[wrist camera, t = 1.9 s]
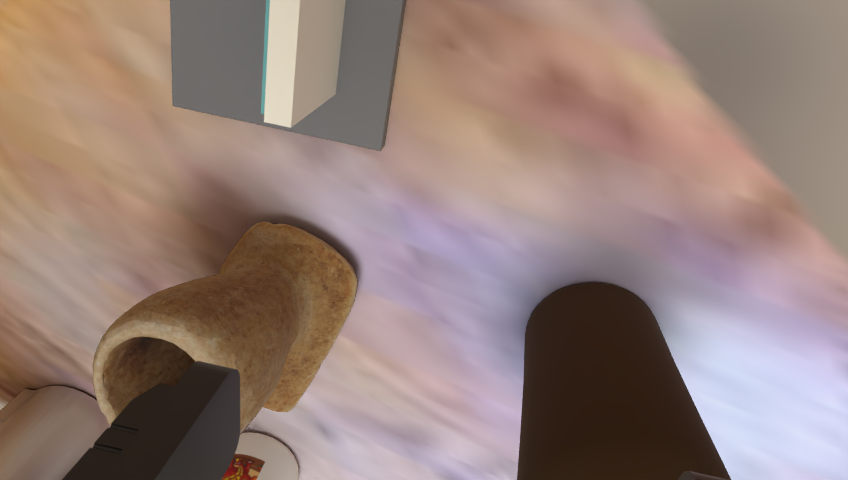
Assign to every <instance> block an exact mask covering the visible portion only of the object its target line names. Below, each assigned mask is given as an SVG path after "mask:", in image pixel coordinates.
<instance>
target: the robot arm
mask: <svg viewBox="0 0 848 480" xmlns="http://www.w3.org/2000/svg"><path fill="white" fill-rule="evenodd" d="M239 437H240V373H239V371H238V370H237V369H233V368H228V367H224V366H219V365H215V364H210V363H206V362H201V361H196V362H194V363H193V364H192V365H191V366H190V367H189V368H188V369H187V371H186V372H185V373H184V374H183V376H182V377H181V378H180V379H179V381H178V382H177V383H176V384H175V386H171V385H167V384H162V383H159V384H157V385H156V386H154V387H152V388H151V389H149V390H147V391H146V392H144V393H142V394H141V395H139V396H138V397H136V398H134V399H133V400H131V401H130V403H129V404H128V405H127V406H126V407H125V408H124V409H123V410H122V412H121V413H120V414H119V415H118V416H117V417H116V418H115V420H114V421H113V422H112V423H111V426H110V425H109V423H108V422H107V418H106V416H105V415H104V414H103V413H102V411H101V409H100V407H99V404H98V401H96V400H95V399H94V398H92V397H90V396H89V395H87V394H85V393H83V392H81V391H78V390H76V389H73V388H69V387H65V386H48V387H44V388H41V389H39V390H29V389H24V390H23V391H22V392H21V393H20V394H18V395H17V396H16V397H15V398H14V399H13V400H12V401H10V402H9V403H8V404H7V405H6V406H5V407H4V408H2V410H0V480H222V478H223V476H224V474H225V473H226V471H227V469H228V467H229V466H230V464H231V462H232V460H233V457H234V455H235V452H236V449H237V446H238V442H239ZM678 480H727V479H723V478H718V477H714V476H709V475H705V474H700V473H696V472H691V471H685V472H683V473H682V474H681V476H680V477H679V479H678Z"/></svg>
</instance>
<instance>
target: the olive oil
mask: <svg viewBox="0 0 848 480" xmlns="http://www.w3.org/2000/svg"><path fill="white" fill-rule="evenodd" d="M685 471H691V472H696V473H700V474H705V475H709V476H714V477H718V478H723V479H727V480H731V478H730V476H729V474H728V472H727V470H726V468H725V466H724V464H723V462H722V460H721V458H720V456H719V454H718V452H717V450H716V448H715V446H714V443H713V441H712V439H711V437H710V435H709V433H708V431H707V429H706V427H705V425H704V423H703V421H702V419H701V417H700V415H699V413H698V411H697V408H696V406H695V404H694V402H693V400H692V398H691V396H690V394H689V392H688V389H687V387H686V385H685V383H684V381H683V379H682V377H681V375H680V372H679V370H678V368H677V366H676V364H675V362H674V360H673V357H672V355H671V353H670V350H669V348H668V346H667V344H666V341H665V339H664V337H663V334H662V332H661V330H660V327H659V325H658V323H657V321H656V319H655V317H654V315H653V313H652V311H651V310H650V309H649V307H648V306H647V305H646V304H645V303H644V302H643V301H642V300H641V299H640V298H639V297H638V296H636V295H635V294H633V293H632V292H630V291H628V290H626V289H624V288H621V287H618V286H615V285H611V284H606V283H594V282H593V283H580V284H575V285H571V286H568V287H565V288H562V289H560V290H558V291H556V292H554V293H553V294H551V295H549V296H548V297H547V298H545V299H544V300H543V301H542V302H541V303H540V304H539V305H538V306H537V307H536V309H535V310H534V311H533V313H532V315H531V317H530V319H529V321H528V324H527V327H526V333H525V354H524V384H523V401H522V417H521V434H520V448H519V462H518V475H517V480H678V479H679V477H680V476H681V474H682V473H683V472H685Z"/></svg>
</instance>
